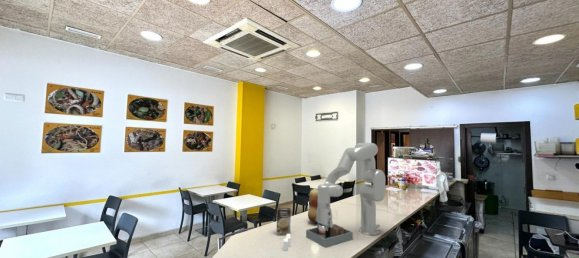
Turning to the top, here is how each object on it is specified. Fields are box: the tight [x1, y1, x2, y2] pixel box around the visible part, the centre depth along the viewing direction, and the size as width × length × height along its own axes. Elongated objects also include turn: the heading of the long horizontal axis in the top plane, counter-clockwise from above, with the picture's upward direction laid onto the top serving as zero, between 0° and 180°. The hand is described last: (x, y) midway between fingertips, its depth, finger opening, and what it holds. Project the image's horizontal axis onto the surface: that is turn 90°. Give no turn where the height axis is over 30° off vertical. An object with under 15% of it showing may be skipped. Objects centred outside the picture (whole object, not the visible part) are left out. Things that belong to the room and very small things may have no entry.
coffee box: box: [276, 207, 292, 236], centre depth 159 cm, size 9×6×16 cm
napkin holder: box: [283, 233, 292, 252], centre depth 139 cm, size 15×11×6 cm
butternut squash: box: [307, 188, 318, 225], centre depth 180 cm, size 14×13×25 cm
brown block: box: [330, 223, 345, 237], centre depth 153 cm, size 6×8×6 cm
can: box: [318, 224, 329, 239], centre depth 147 cm, size 6×6×7 cm
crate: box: [305, 226, 354, 249], centre depth 150 cm, size 22×18×5 cm
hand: (323, 234), depth 147 cm, fingers closed on can, 6 cm apart
